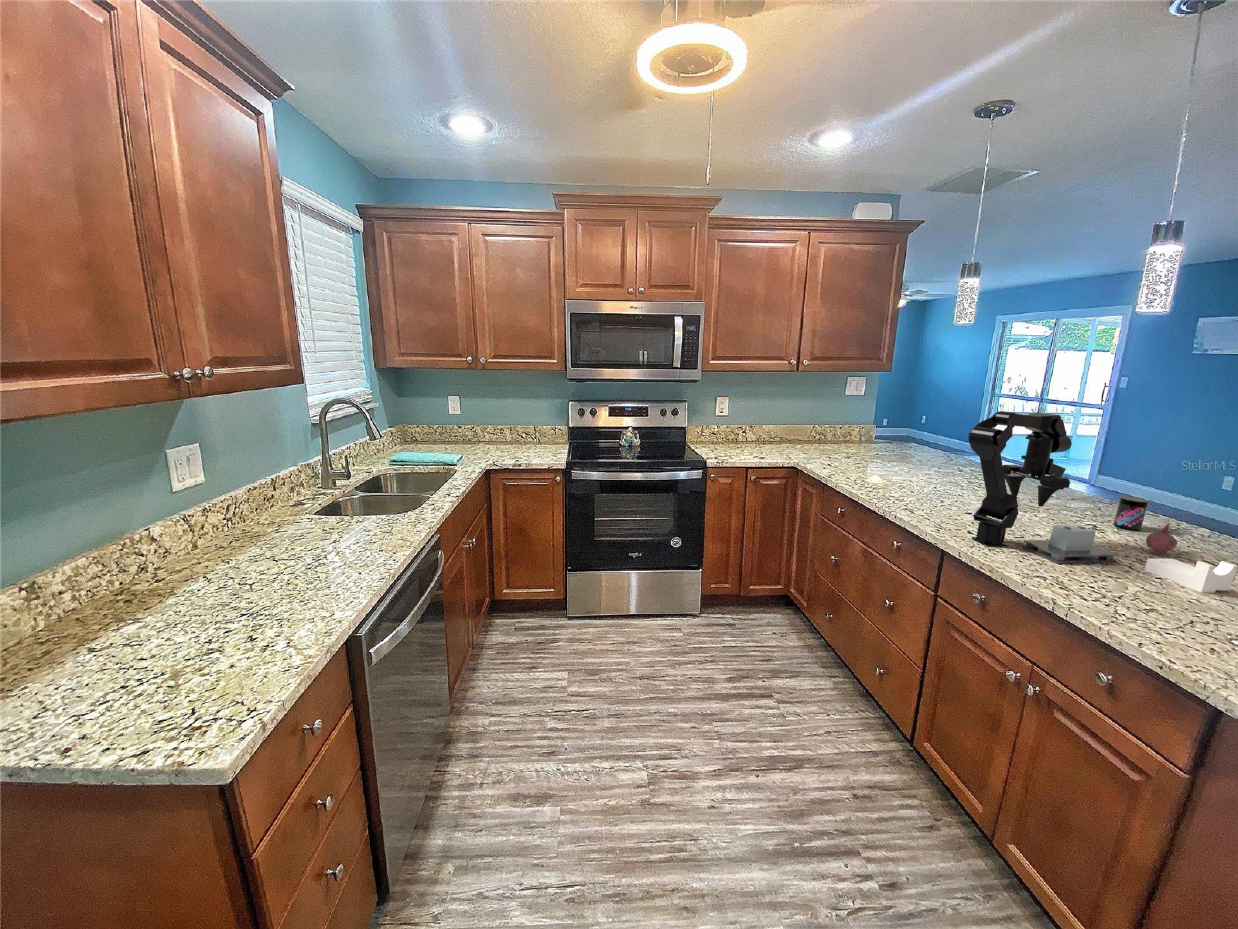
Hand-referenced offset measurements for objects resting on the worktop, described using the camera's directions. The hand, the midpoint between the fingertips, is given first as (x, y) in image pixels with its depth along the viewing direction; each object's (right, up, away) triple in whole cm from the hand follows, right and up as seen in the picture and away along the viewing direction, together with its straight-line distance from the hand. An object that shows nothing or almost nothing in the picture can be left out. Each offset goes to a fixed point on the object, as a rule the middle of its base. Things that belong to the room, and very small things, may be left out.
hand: (1027, 501), depth 152 cm
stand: (+3, -15, -11) cm, 19 cm away
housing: (+3, -12, -11) cm, 17 cm away
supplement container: (+45, -10, +13) cm, 48 cm away
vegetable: (+32, -15, -9) cm, 36 cm away
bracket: (+20, -19, -25) cm, 37 cm away
